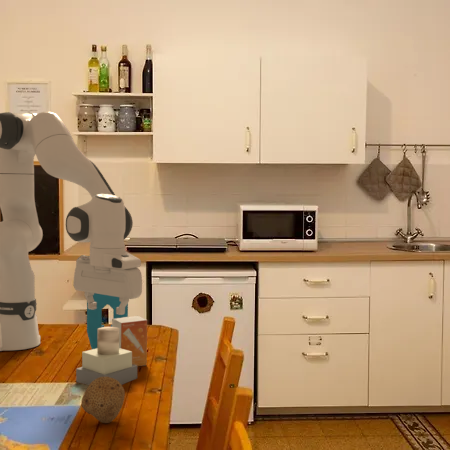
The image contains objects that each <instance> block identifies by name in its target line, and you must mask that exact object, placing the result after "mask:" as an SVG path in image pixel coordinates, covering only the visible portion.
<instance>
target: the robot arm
mask: <svg viewBox="0 0 450 450" xmlns="http://www.w3.org/2000/svg"><path fill="white" fill-rule="evenodd" d="M71 134H72V133H71V132H70V131H69V128H68V127H67V126H66V124H65V122H64V121H63V120H62V118H61V117H60V116H59V115H58V114H57V113H55V112H52V111H41V112H39V113H35V112H9V111H8V112H7V111H6V112H0V211H1V214H2V221H0V352H2V351H21V350H27V349H32V348H35V347H38V346H40V344H42V343H41V335H40V333H39V325H38V316H37V313H36V311H37V304H38V303H37V298H35V297H36V296H35V295H36V293H35V292H36V289H35V288H36V287H35V285H36V284H35V282H36V281H35V280H36V279H35V277H36V276H35V272H34V271H33V268H32V266H31V263H30V257H29V252H31V251H33V250H35V249H36V248H37V247H38V246H39V245H40V243H41V242H42V240H43V236H44V234H43V229H42V227H41V225H40V223H39V217H38V212H37V207H36V202H35V201H36V200H35V163H34V159H35V156H36V158H37V161H38V163H39V165H40V166H41V168H42V169H43V171H45V172H46V174H47V175H49V176H51V177H54V178H56V179H60V180H63V181H67V182H71V183H73V184H76V185H78V186H80V187H82V188H83V189H85V190H86V191H87V193H89V195H90V197H91V200H90V201H88V202H86V203H84V204H82V205H78V206H74V207H73V208H71V209H70V211H69V212H68V214H67V215H66V217H65V218H66V219H65V230H66V233H67V235H68V236H69V238H70V239H72V240H73V241H74V242H79V243H90V244H89V255H85V254H84V255H83V254H82V255H80V256H79V257H77V259H76V262H75V263H76V264H75V269H74V274H73V284H72V285H73V287H74V290H76V291H79V292H84V297H85V300H86V303H87V302H88V309H92V310H94V309H96V308H97V306H96V305H97V302H94V299H93V296H92V295H94V293H97V294H103V295H109V296H115V297H119V301H120V302H121V304H120V306H119V307H116V314H119V315H123V314H125V307H126V305H127V304H128V305H129V302H130V300H134V299H139V297H141V295H142V292H143V279H142V277H143V276H142V272H141V270H140V269H139V267H141V266H142V261H141V259H140V258H139V257H138V256H135V255H134V254H132V253H129V252H128V251H126V244H125V240H126V239H127V237H128V236H130V234H131V231H132V228H133V224H134V223H133V217H132V215H131V213H130V211H129V210H128V208H127V207H126V206H125V202H124V200H123V198H121V197H120V196H118V195H116V194H115V192H114V191H113V189H112V188H111V186H110V184H109V183H108V181H107V179H106V178H105V177H104V175H103V174H102V172H101V170H100V169H99V167H98V166H96V164H95V163H94V162H93V161H92V160H90V159H89V158H88V157H87V156H86V155H85V154H84V153H83V152H82V151H81V150H80V148H79V147H78V146H77V144H76V142H75V140H74V138H73V135H71Z"/></svg>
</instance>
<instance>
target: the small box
mask: <svg viewBox="0 0 450 450" xmlns="http://www.w3.org/2000/svg"><path fill="white" fill-rule="evenodd" d="M111 325H112V327H117V328H119V348H121V349H125V350H128V351H132V364H133V365H137V367H144V366H147V363H148V362H147V354H148V353H147V351H148V346H147V345H148V319H146V318H144V317H142V316H140V315H133V316H128V317H123V318H116V319H113V318H112V319H111Z"/></svg>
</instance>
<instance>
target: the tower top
mask: <svg viewBox="0 0 450 450" xmlns="http://www.w3.org/2000/svg"><path fill="white" fill-rule="evenodd" d="M81 352H82V354H81V355H82V356H81V357H82V358H81V361H82V362H81V363H82V364H81V365H82V366H81V367H83V368H86V369H89V370H92V371H95V372H98V373H101V374H104V375H105V374H108V373H112V372H115V371H119V370H122V369H126V368H129V367H132V351H128V350H125V349H121V348H119V353H117V354H114V355H101V354H98V353H97V348H96V349H92V348H91V349H89V350H85V351H81Z"/></svg>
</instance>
